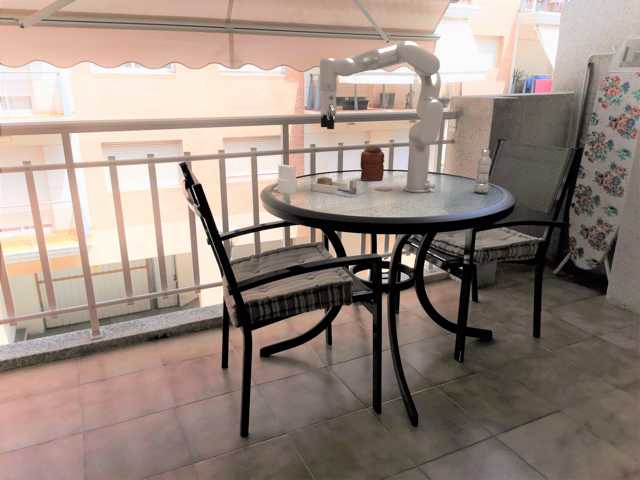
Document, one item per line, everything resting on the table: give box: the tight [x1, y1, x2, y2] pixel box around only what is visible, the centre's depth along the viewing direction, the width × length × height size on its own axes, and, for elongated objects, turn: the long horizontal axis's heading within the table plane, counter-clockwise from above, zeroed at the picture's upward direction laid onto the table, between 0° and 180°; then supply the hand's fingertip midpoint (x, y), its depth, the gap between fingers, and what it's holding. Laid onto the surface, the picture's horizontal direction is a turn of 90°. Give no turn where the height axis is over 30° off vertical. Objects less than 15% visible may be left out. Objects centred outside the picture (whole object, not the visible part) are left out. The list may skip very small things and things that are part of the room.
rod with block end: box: [316, 176, 358, 194], centre depth 221 cm, size 20×5×6 cm, turn 55°
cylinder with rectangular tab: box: [277, 164, 298, 195], centre depth 221 cm, size 9×9×12 cm
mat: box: [335, 189, 366, 198], centre depth 218 cm, size 8×12×1 cm
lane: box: [310, 180, 349, 195], centre depth 224 cm, size 14×10×4 cm
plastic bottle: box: [473, 149, 492, 194], centre depth 219 cm, size 6×7×20 cm
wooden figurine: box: [359, 145, 385, 182], centre depth 246 cm, size 12×6×18 cm, turn 101°
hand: (327, 128), depth 213 cm, fingers open, 9 cm apart
